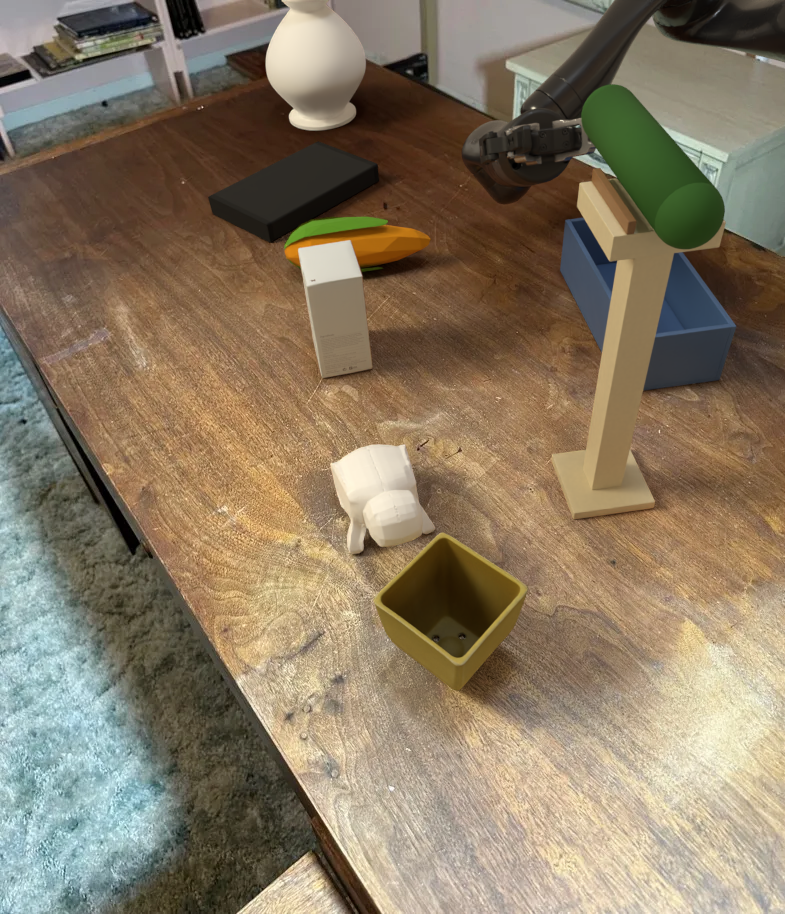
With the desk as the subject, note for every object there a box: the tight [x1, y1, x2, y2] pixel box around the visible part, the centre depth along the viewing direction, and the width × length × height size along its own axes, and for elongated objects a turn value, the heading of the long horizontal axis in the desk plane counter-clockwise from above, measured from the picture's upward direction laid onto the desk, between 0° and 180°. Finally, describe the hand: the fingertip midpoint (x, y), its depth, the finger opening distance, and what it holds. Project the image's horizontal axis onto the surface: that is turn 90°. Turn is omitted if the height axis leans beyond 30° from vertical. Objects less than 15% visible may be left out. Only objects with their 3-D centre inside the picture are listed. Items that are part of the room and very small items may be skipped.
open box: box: [559, 217, 737, 392], centre depth 92 cm, size 11×25×8 cm, turn 7°
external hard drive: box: [207, 140, 380, 243], centre depth 121 cm, size 14×23×3 cm, turn 137°
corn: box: [283, 216, 431, 273], centre depth 104 cm, size 7×8×20 cm
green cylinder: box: [581, 83, 726, 249], centre depth 55 cm, size 20×4×4 cm, turn 7°
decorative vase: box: [265, 0, 367, 131], centre depth 133 cm, size 18×18×25 cm
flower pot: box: [373, 531, 529, 692], centre depth 62 cm, size 9×9×9 cm
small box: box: [298, 240, 374, 379], centre depth 89 cm, size 8×6×13 cm
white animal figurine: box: [330, 443, 436, 555], centre depth 72 cm, size 9×8×15 cm
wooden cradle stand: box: [550, 167, 727, 520], centre depth 66 cm, size 8×9×31 cm
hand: (572, 131), depth 70 cm, fingers open, 8 cm apart
